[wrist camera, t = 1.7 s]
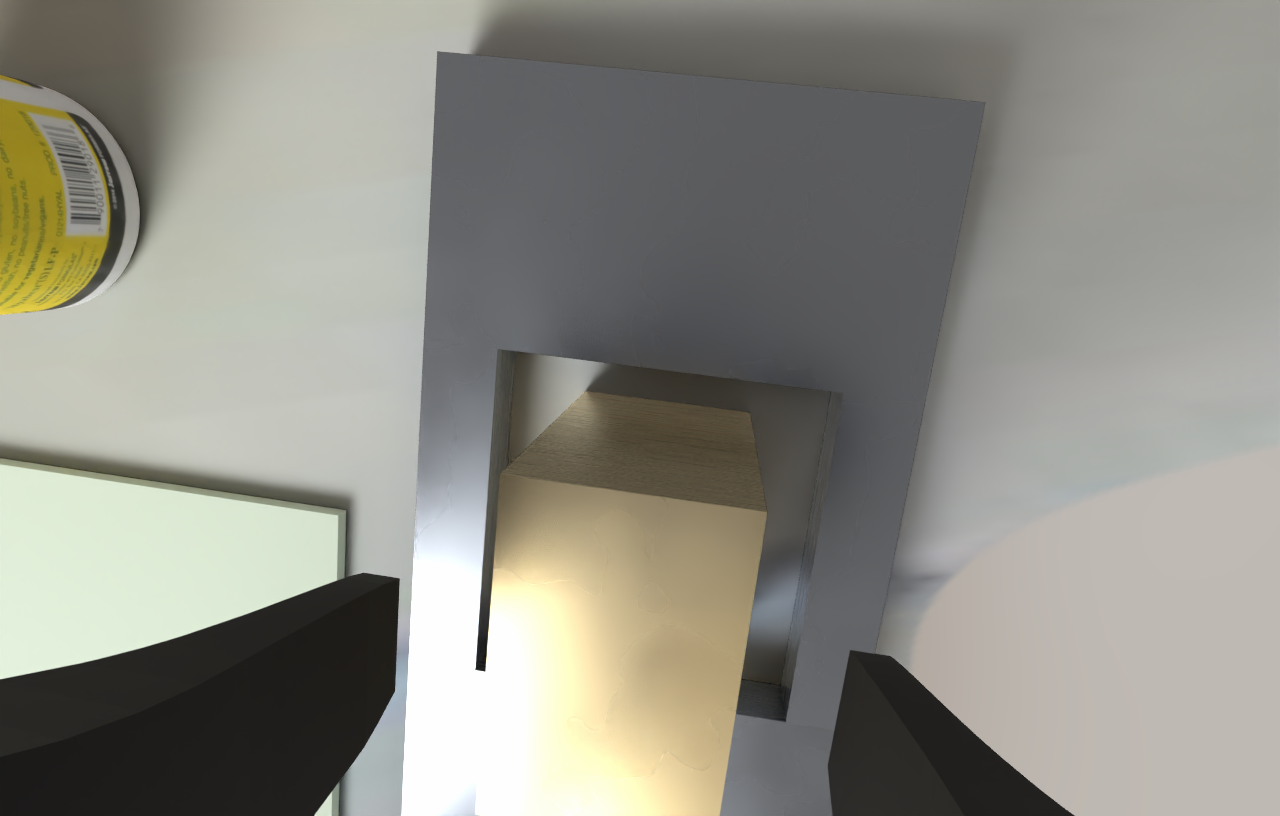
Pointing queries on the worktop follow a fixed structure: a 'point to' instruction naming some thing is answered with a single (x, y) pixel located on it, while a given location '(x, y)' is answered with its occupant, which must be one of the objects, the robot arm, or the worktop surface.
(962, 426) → the worktop surface
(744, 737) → the iron frame
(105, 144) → the supplement bottle
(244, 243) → the worktop surface
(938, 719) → the robot arm
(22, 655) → the sage mat
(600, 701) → the tan rectangular block
